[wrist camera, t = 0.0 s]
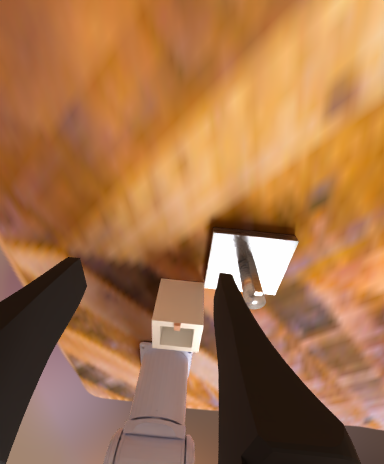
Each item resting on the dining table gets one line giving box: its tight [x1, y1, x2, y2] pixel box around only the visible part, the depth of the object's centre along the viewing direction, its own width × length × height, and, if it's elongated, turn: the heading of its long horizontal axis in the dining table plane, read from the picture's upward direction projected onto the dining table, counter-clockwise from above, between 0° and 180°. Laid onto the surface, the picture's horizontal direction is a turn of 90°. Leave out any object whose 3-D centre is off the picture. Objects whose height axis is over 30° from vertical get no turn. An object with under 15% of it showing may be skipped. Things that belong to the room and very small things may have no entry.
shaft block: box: [204, 227, 299, 309], centre depth 21 cm, size 8×8×6 cm
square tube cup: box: [152, 278, 204, 352], centre depth 25 cm, size 5×5×6 cm
